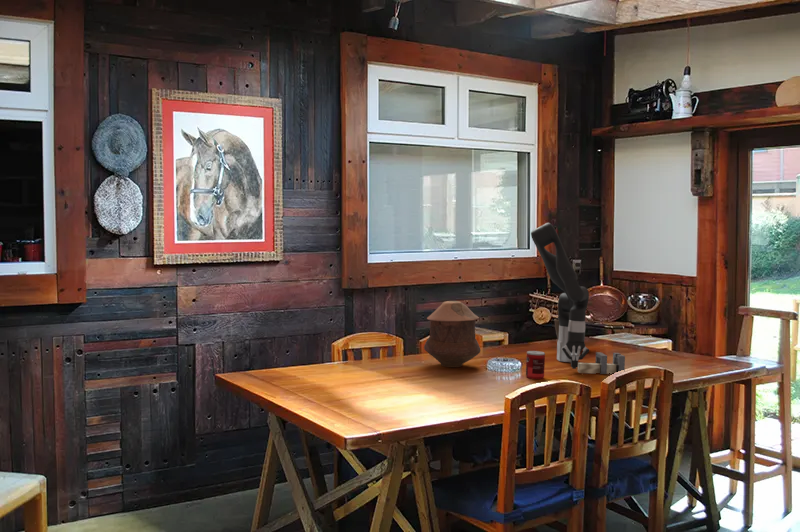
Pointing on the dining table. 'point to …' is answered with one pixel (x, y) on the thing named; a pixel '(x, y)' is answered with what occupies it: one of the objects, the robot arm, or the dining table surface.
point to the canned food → (535, 364)
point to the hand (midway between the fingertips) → (574, 368)
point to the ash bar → (596, 368)
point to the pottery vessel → (452, 334)
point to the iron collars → (617, 359)
